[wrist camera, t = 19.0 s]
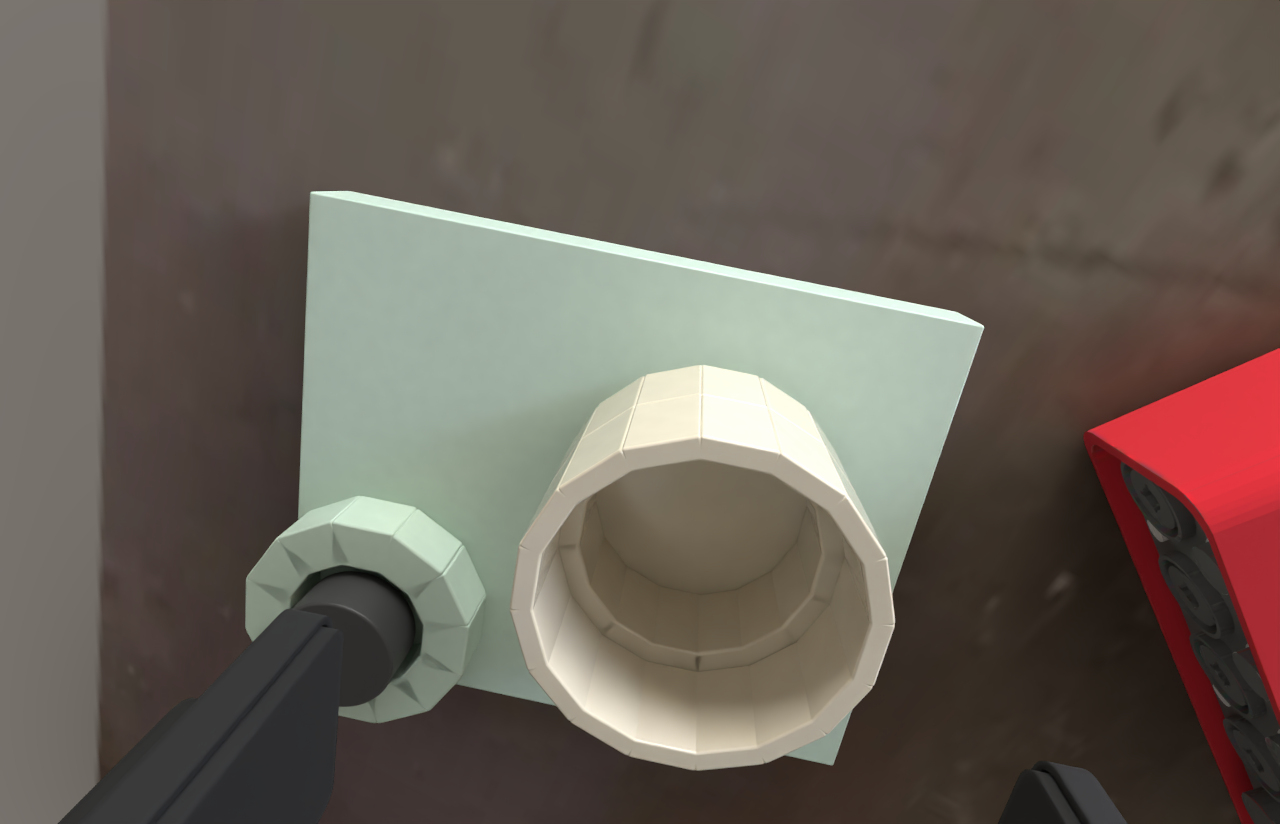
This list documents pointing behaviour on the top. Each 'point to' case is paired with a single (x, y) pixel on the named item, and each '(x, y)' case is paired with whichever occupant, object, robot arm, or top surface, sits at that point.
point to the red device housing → (1211, 556)
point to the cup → (702, 576)
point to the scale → (551, 408)
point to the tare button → (364, 630)
